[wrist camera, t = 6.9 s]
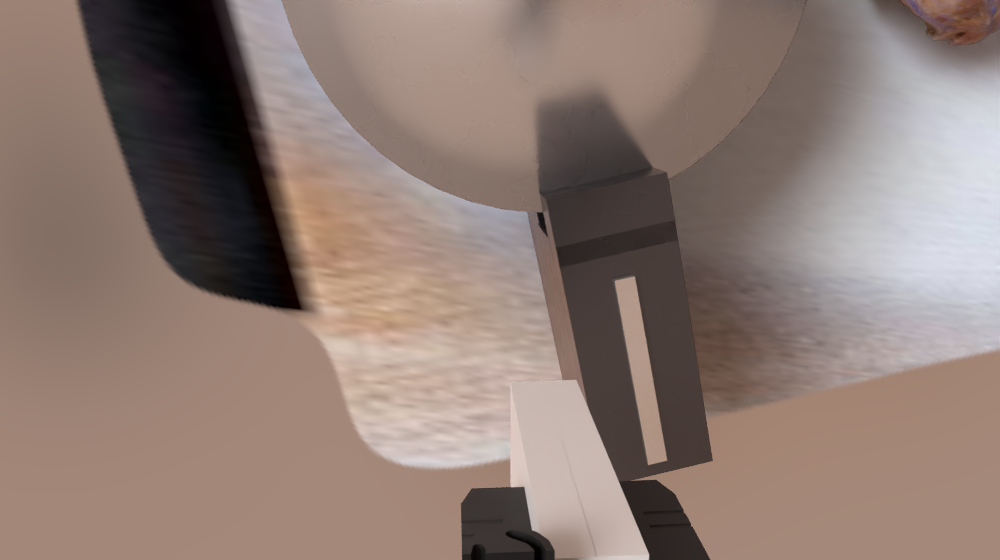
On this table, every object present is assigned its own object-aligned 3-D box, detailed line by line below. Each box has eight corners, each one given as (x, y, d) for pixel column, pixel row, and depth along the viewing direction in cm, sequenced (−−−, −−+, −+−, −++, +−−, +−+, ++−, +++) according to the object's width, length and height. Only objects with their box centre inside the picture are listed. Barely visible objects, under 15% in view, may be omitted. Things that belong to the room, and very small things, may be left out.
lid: (745, -382, 22) (825, -505, 17) (827, 371, 28) (903, 425, 23) (221, -273, 21) (165, -370, 17) (421, 468, 27) (419, 542, 23)
